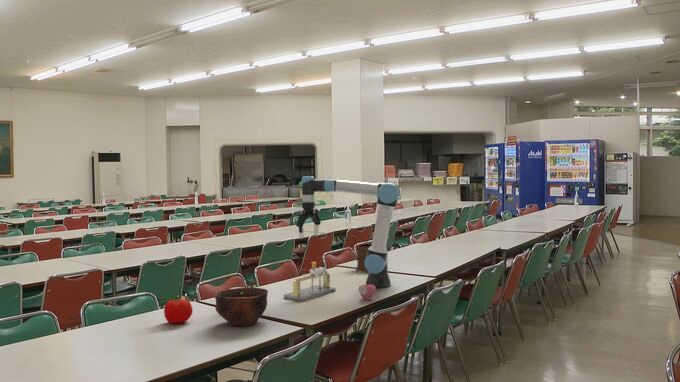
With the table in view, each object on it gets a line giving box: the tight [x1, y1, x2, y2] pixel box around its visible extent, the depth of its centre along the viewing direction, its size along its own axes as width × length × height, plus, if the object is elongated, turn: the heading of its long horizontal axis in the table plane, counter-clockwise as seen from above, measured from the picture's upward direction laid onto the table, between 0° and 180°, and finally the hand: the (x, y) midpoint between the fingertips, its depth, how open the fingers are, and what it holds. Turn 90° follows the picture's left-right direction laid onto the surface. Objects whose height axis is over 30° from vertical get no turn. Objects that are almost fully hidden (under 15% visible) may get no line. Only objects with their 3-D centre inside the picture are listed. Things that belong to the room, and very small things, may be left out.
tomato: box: [163, 297, 194, 325], centre depth 263 cm, size 12×13×12 cm
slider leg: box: [309, 261, 319, 290], centre depth 317 cm, size 4×3×16 cm
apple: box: [358, 280, 377, 301], centre depth 301 cm, size 10×9×10 cm
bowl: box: [213, 287, 269, 327], centre depth 260 cm, size 25×25×15 cm
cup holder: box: [346, 234, 372, 273], centre depth 392 cm, size 18×24×25 cm
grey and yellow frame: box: [283, 266, 337, 302], centre depth 316 cm, size 14×30×14 cm, turn 144°
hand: (309, 236), depth 331 cm, fingers open, 13 cm apart
